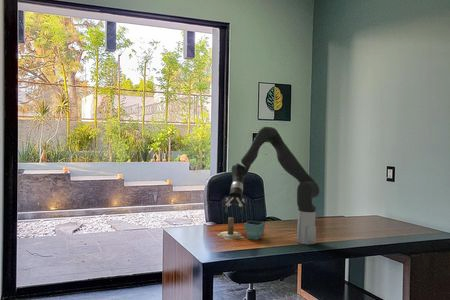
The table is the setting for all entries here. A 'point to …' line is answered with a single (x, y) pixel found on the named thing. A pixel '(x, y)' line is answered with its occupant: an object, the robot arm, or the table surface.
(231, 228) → the lid
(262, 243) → the table surface
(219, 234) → the mat
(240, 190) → the robot arm
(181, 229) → the table surface
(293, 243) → the table surface
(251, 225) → the flower pot
